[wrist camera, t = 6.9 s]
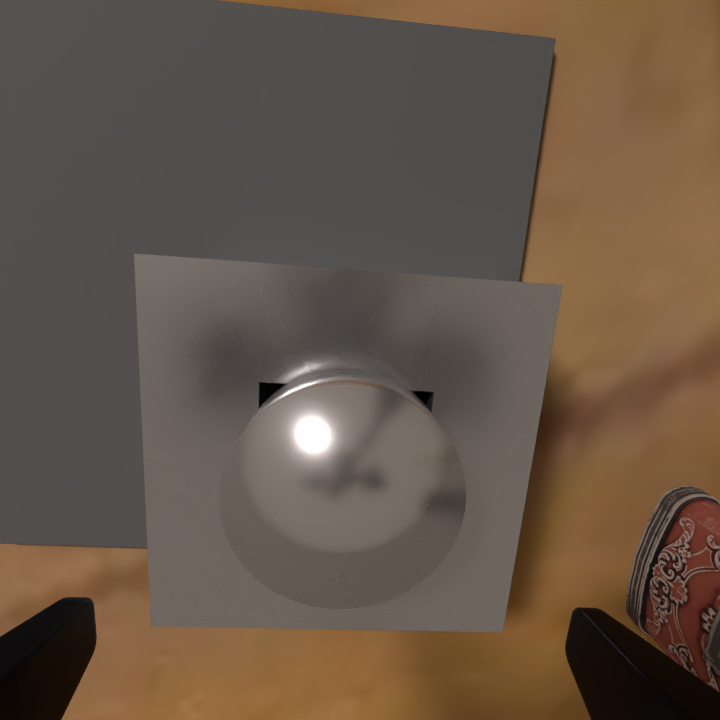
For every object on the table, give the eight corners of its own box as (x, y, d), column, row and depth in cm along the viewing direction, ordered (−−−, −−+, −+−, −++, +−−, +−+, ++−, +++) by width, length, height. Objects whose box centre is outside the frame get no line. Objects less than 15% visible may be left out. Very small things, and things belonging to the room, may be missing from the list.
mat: (549, 44, 15) (555, 38, 14) (474, 551, 19) (477, 557, 19) (-64, -24, 13) (-77, -34, 13) (8, 537, 18) (0, 543, 17)
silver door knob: (425, 347, 16) (480, 393, 10) (410, 488, 17) (450, 611, 11) (269, 338, 16) (218, 378, 9) (265, 483, 17) (219, 606, 10)
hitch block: (495, 283, 16) (562, 285, 11) (459, 538, 18) (502, 632, 13) (200, 262, 15) (133, 253, 10) (204, 530, 18) (150, 626, 13)
